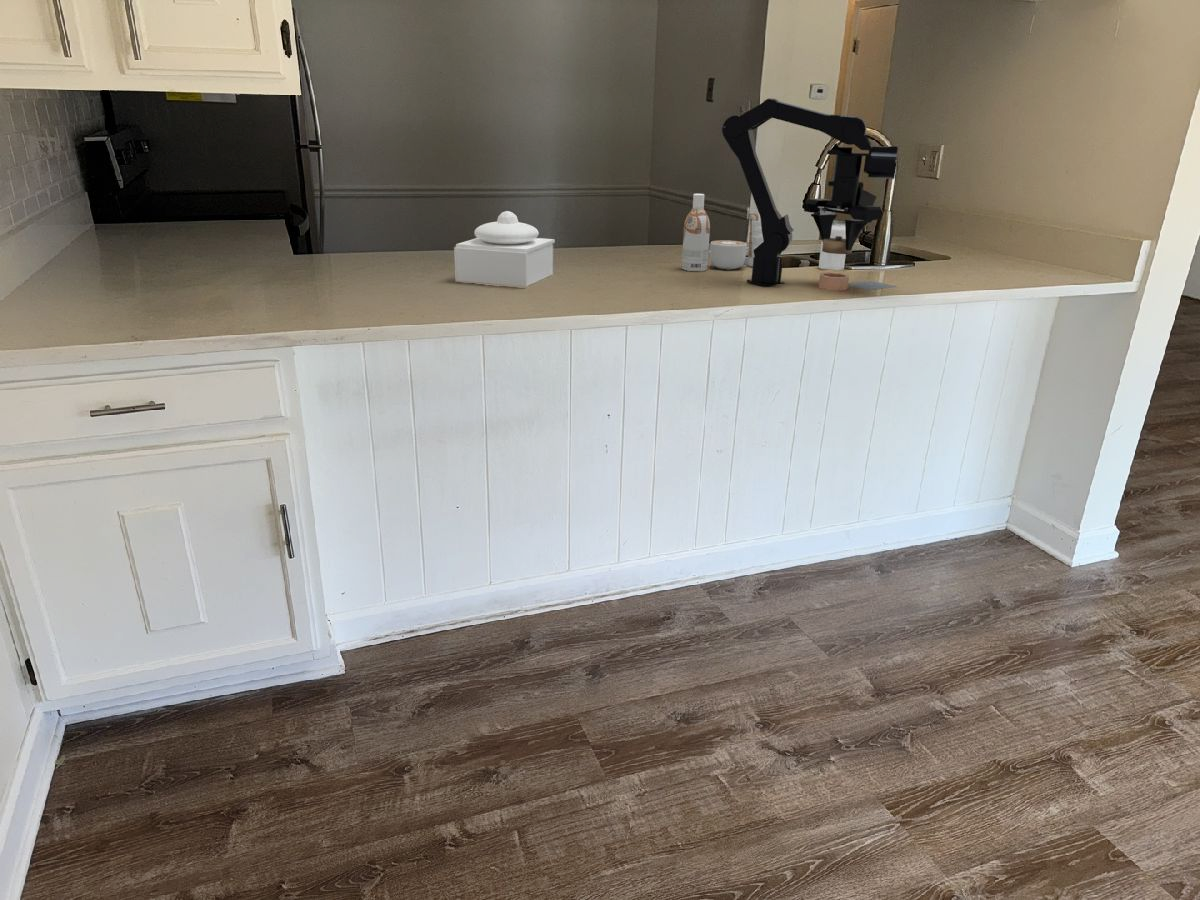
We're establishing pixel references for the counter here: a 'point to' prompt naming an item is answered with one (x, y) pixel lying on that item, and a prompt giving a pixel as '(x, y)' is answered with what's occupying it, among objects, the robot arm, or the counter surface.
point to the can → (829, 259)
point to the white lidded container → (504, 254)
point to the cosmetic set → (715, 242)
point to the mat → (870, 285)
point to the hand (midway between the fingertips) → (837, 248)
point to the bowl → (833, 281)
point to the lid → (835, 245)
